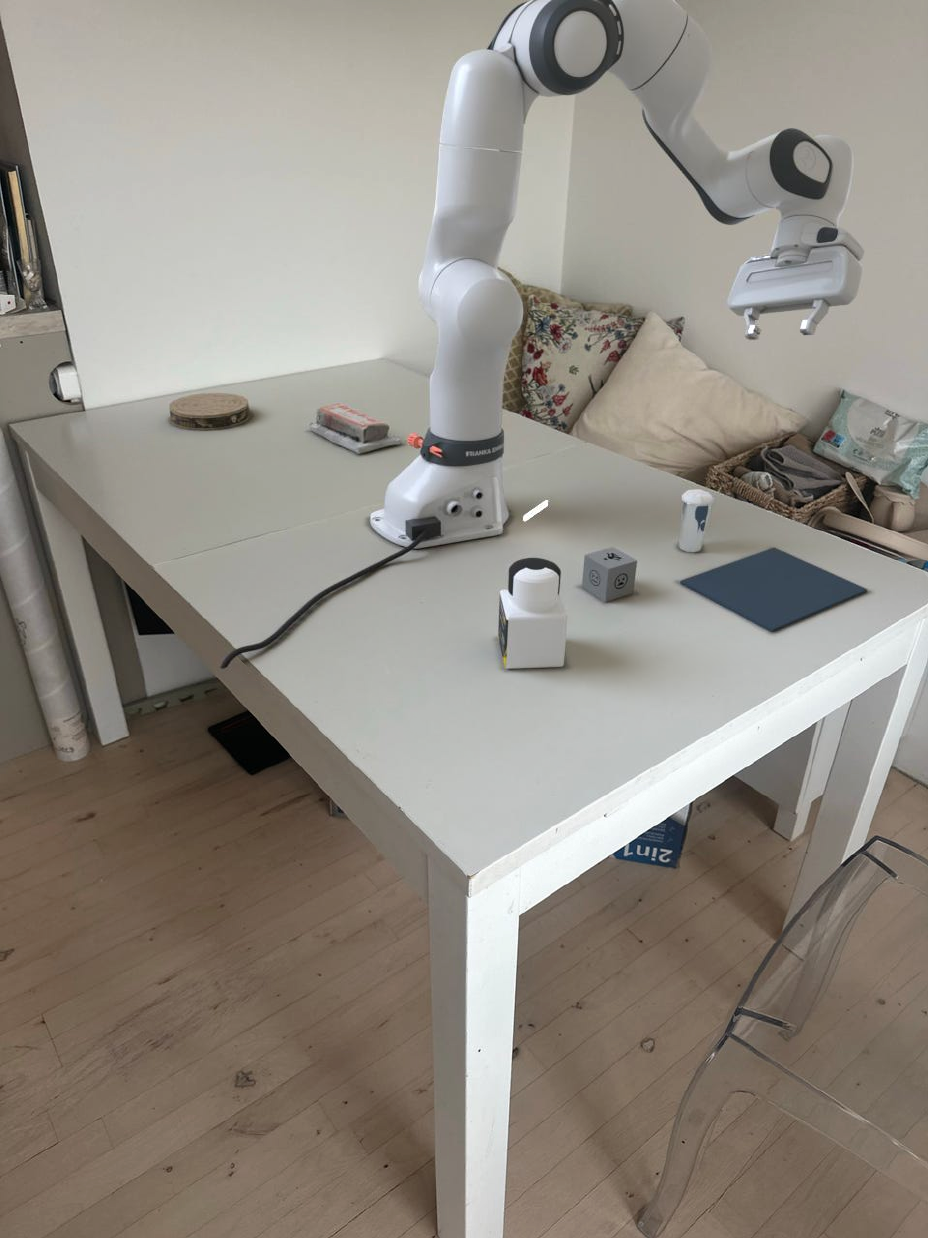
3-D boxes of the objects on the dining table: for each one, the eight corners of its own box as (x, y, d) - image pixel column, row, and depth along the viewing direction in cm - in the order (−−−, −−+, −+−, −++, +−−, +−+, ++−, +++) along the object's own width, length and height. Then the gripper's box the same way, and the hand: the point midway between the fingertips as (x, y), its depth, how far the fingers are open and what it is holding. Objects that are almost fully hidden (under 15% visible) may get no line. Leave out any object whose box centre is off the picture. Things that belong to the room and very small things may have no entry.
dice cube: (633, 593, 125) (637, 560, 122) (605, 602, 122) (608, 569, 120) (609, 578, 128) (613, 546, 126) (581, 587, 126) (584, 554, 123)
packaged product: (306, 407, 180) (348, 398, 185) (308, 431, 182) (349, 422, 188) (357, 430, 168) (400, 420, 174) (358, 455, 170) (401, 444, 176)
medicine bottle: (497, 638, 114) (500, 552, 108) (553, 636, 114) (560, 550, 108) (504, 670, 108) (508, 580, 101) (564, 667, 108) (571, 578, 102)
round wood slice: (241, 403, 198) (239, 389, 196) (257, 424, 185) (256, 410, 184) (165, 411, 192) (163, 397, 191) (177, 434, 180) (175, 419, 178)
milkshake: (711, 556, 135) (721, 493, 130) (674, 552, 136) (683, 490, 131) (710, 543, 139) (720, 482, 134) (674, 540, 140) (683, 479, 135)
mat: (771, 632, 116) (772, 629, 116) (680, 583, 127) (680, 580, 127) (866, 591, 126) (867, 589, 126) (773, 549, 137) (774, 547, 137)
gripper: (732, 249, 144) (709, 332, 144) (856, 227, 128) (830, 321, 128) (753, 267, 148) (731, 349, 148) (875, 248, 132) (850, 339, 132)
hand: (778, 336), depth 138 cm, fingers open, 8 cm apart
